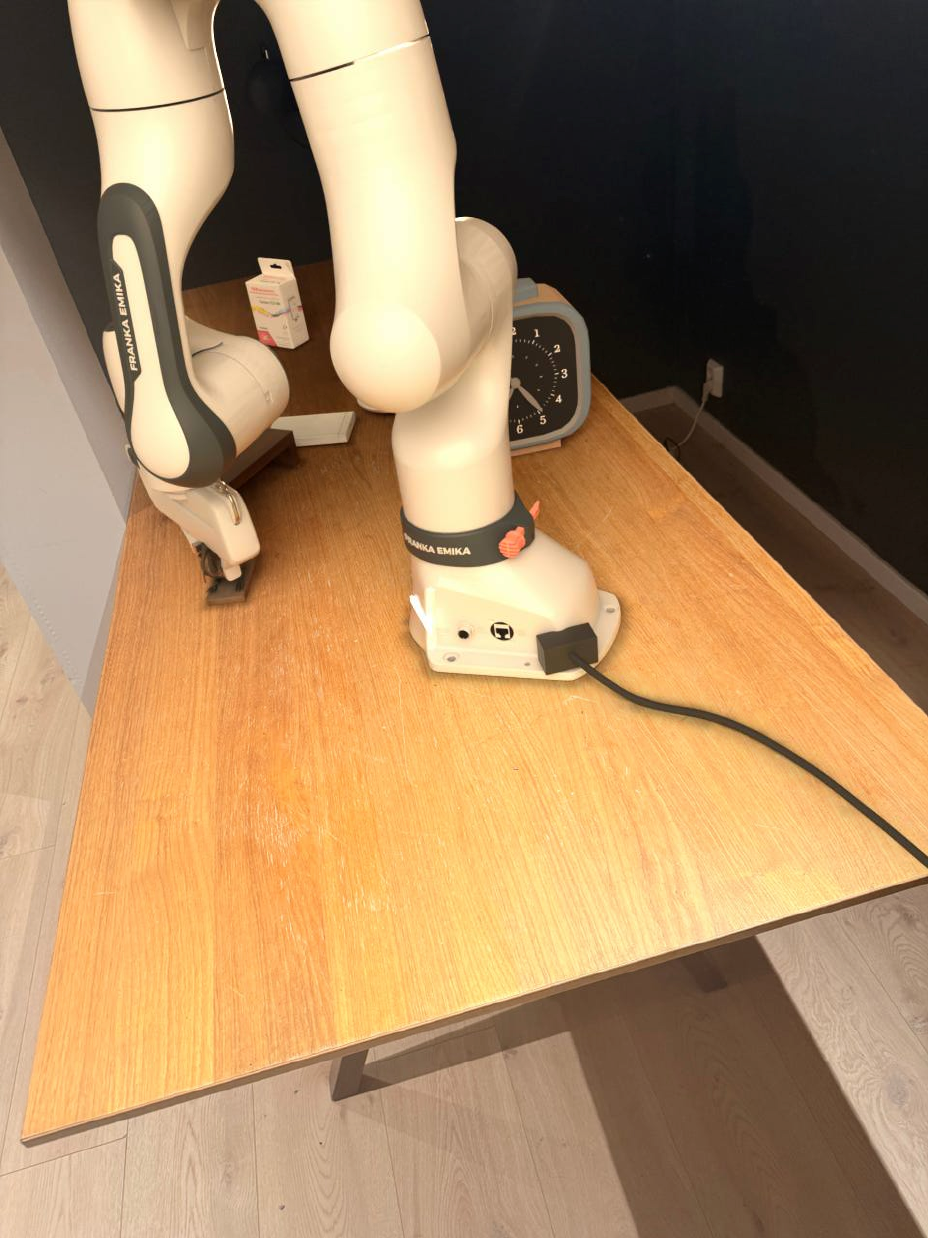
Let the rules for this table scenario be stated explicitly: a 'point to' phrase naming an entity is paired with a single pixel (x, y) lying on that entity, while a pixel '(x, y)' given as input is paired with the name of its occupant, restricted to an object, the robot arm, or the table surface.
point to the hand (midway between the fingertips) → (217, 564)
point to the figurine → (222, 587)
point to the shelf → (262, 456)
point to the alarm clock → (546, 369)
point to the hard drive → (318, 427)
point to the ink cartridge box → (277, 305)
